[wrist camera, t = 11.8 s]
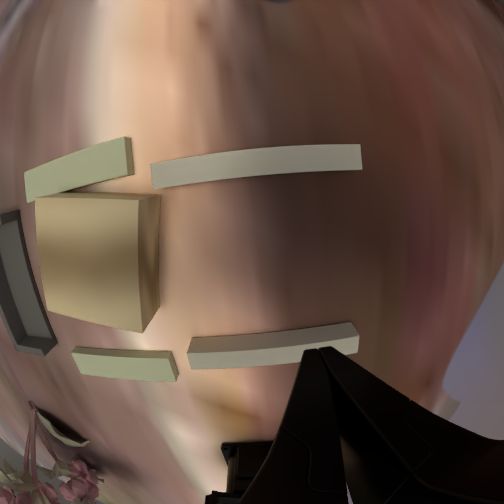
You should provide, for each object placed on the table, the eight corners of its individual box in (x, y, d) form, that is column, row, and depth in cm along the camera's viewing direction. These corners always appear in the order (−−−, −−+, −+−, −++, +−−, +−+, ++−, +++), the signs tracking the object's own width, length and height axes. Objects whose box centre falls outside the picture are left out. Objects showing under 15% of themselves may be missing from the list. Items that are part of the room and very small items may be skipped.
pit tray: (57, 342, 20) (44, 356, 18) (29, 338, 20) (16, 350, 18) (19, 210, 17) (0, 215, 14) (-7, 219, 17) (-24, 224, 14)
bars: (178, 374, 21) (176, 382, 20) (85, 367, 21) (81, 373, 20) (130, 138, 16) (124, 136, 15) (31, 172, 16) (24, 172, 15)
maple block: (160, 304, 19) (142, 333, 15) (74, 289, 19) (47, 310, 15) (162, 194, 17) (138, 200, 13) (68, 191, 17) (35, 197, 13)
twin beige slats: (349, 337, 20) (357, 352, 18) (195, 353, 20) (191, 369, 18) (348, 147, 16) (360, 144, 14) (161, 165, 16) (150, 164, 14)
